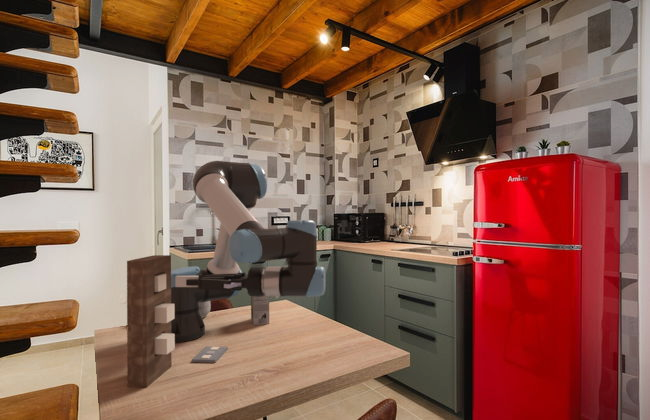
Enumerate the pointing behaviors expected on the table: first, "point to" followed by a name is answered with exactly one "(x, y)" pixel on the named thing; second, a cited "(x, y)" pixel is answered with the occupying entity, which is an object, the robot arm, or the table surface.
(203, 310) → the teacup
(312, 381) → the table surface
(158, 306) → the middle key
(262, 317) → the coffee box
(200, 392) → the table surface
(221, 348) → the pattern card
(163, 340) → the bottom key
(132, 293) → the switch panel
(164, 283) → the top key
